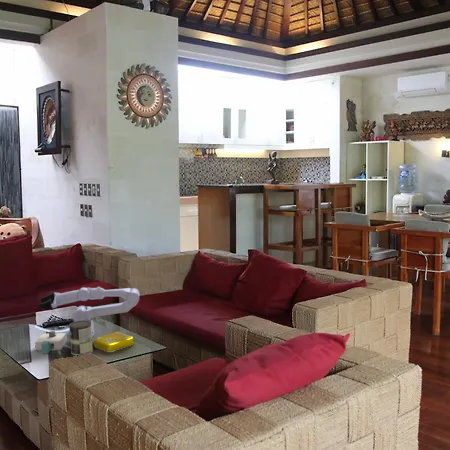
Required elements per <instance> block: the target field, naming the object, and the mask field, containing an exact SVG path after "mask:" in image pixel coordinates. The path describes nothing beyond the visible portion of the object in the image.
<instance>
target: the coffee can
mask: <svg viewBox="0 0 450 450" xmlns="http://www.w3.org/2000/svg"><path fill="white" fill-rule="evenodd" d="M68 328H69V338H70V339H69V340H70V341H69V342H70V353H71V355H73V356H76V357H77V355H81V354H86V353H90V354H91V353H93V352H94V349H93V347H94V346H93V337H92V333H91V322H90V321H85V320H83V321H76V322H74V321H73V322H70V323H69V324H68Z"/></svg>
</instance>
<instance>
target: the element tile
mask: <svg viewBox="0 0 450 450" xmlns="http://www.w3.org/2000/svg"><path fill="white" fill-rule="evenodd" d="M133 344H135V343H134V336H132V335H129V334H126V333H123V332H122V331H121V332H120V331H114V332H110V333H107V334H105V335H101V336H98V337H94V338H93V347H94V348H95V349H98V350H100V349H101V351H102V350H105V351H113V350H117V349H121V348H124V347H127V348H129V347H128V346H130V347H132V346H131V345H133ZM133 346H134V345H133ZM105 351H104V352H105Z"/></svg>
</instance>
